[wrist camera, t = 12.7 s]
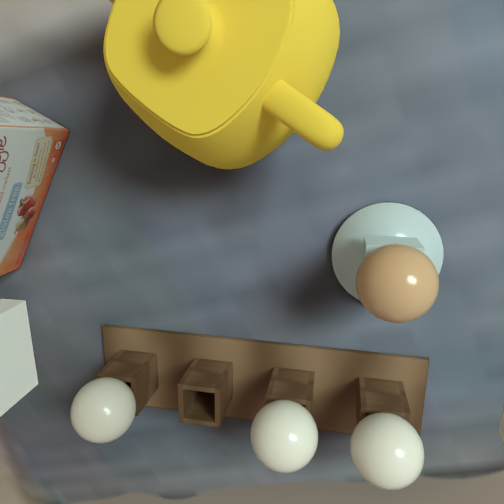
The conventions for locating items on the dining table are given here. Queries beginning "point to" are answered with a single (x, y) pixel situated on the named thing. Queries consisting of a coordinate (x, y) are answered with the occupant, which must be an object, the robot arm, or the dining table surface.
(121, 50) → the teapot
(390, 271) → the brown egg
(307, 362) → the egg rack
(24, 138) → the cracker box
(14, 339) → the robot arm
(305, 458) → the white egg
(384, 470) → the white egg
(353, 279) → the egg cup
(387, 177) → the dining table surface
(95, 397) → the white egg
